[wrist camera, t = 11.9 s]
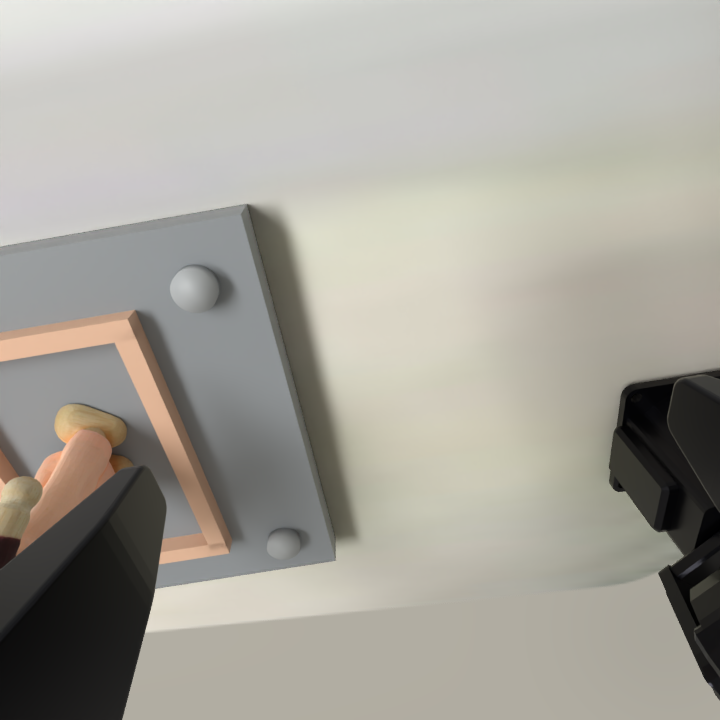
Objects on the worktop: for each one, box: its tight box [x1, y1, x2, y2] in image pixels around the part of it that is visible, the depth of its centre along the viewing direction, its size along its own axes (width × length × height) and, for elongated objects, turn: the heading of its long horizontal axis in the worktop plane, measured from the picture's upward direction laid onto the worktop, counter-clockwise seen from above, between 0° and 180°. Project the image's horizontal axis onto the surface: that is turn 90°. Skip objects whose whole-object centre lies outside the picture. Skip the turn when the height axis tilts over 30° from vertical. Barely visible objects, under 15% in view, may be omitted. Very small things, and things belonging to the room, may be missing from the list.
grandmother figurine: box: [0, 404, 134, 569], centre depth 16 cm, size 8×4×13 cm, turn 4°
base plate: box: [0, 204, 336, 589], centre depth 22 cm, size 18×18×2 cm
